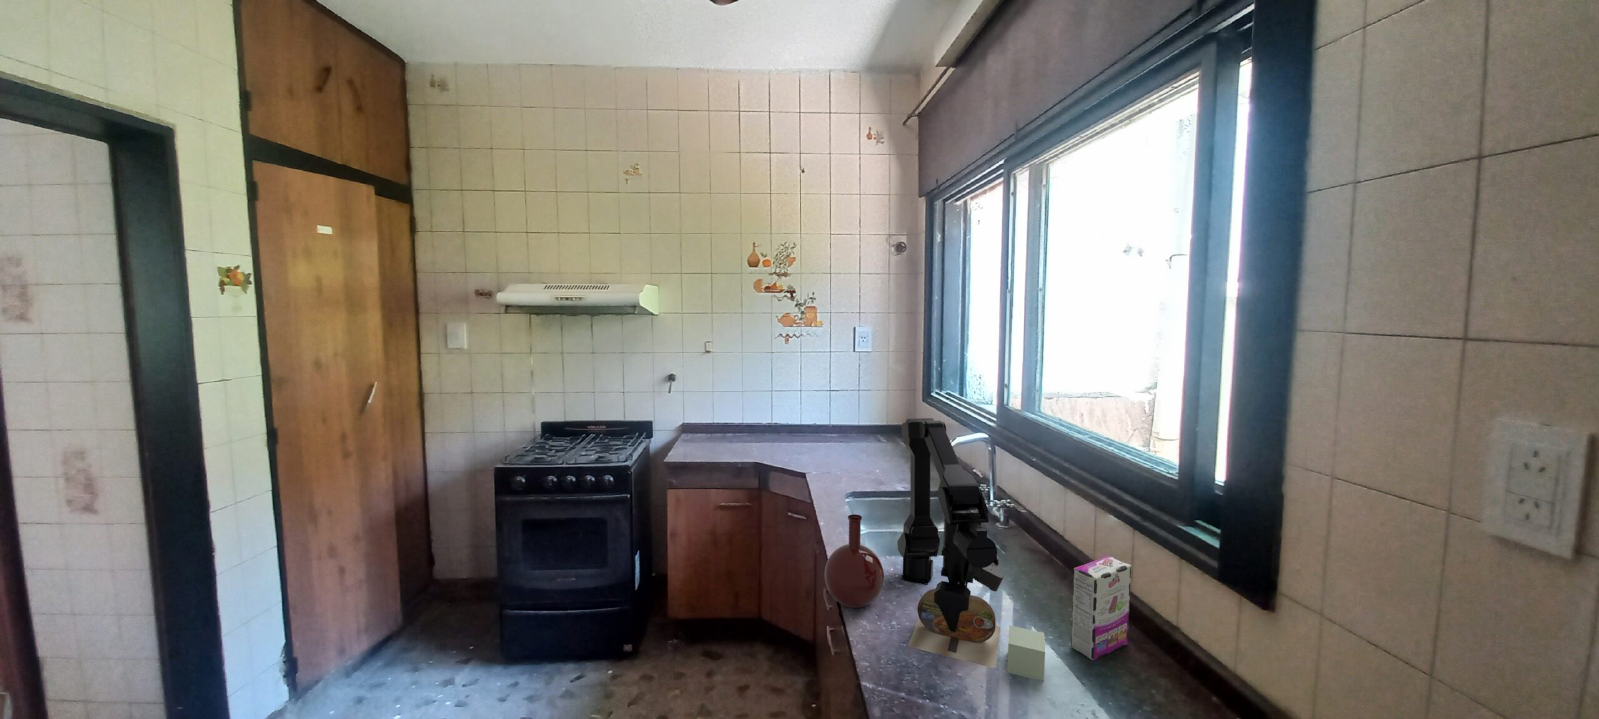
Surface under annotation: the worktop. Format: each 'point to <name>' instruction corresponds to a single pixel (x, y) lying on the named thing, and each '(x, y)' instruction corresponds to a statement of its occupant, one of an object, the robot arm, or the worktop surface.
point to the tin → (971, 623)
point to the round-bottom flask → (854, 570)
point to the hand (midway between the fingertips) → (956, 618)
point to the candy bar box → (1100, 607)
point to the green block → (1026, 653)
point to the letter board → (956, 646)
